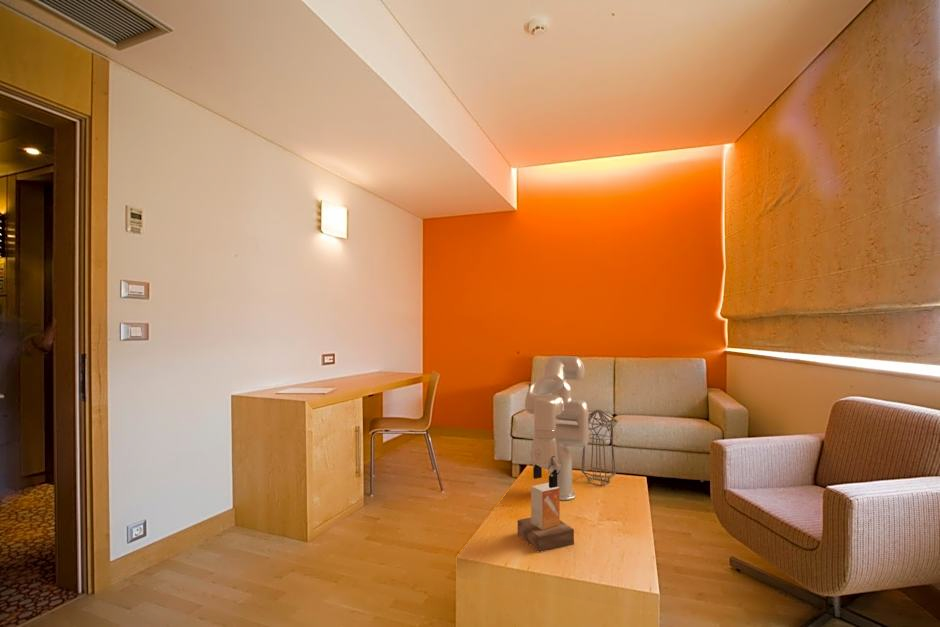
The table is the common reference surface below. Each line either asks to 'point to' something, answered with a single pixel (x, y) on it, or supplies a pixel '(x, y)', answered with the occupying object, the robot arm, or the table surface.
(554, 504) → the small box
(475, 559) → the table surface
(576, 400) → the robot arm
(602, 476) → the geometric lantern
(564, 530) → the walnut plinth
